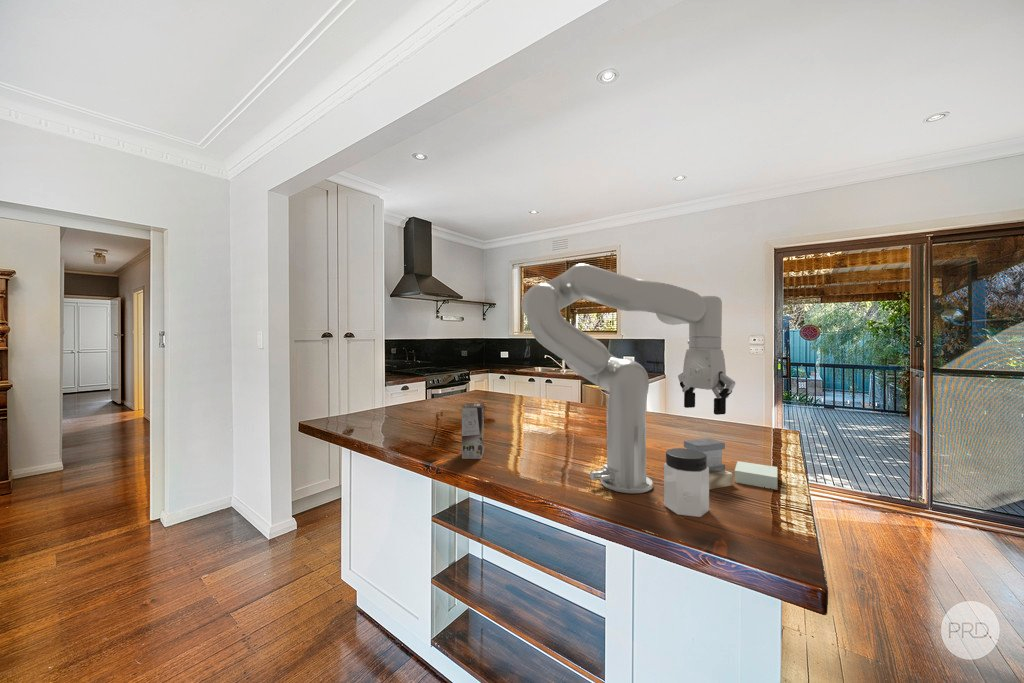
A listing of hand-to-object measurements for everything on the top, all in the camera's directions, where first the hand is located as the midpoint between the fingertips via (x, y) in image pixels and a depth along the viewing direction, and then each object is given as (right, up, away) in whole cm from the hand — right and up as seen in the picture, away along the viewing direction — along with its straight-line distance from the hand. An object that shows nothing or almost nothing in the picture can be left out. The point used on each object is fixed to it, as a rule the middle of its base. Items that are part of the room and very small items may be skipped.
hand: (703, 410), depth 99 cm
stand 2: (+14, -18, 0) cm, 23 cm away
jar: (-12, -19, -16) cm, 27 cm away
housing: (0, -15, 0) cm, 15 cm away
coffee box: (-62, -19, +24) cm, 69 cm away
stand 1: (0, -18, 0) cm, 18 cm away
